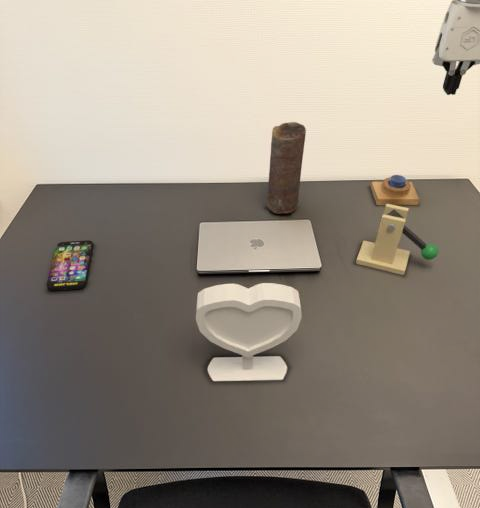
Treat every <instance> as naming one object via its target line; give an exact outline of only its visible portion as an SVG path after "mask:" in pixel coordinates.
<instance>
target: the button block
mask: <svg viewBox="0 0 480 508" xmlns="http://www.w3.org/2000/svg"><path fill="white" fill-rule="evenodd" d="M390 178H391V176H389V177H386V178H384V179H383V181H371V184H370V190H371V193H372V196H373V198H374V201H375V204H376V206H386V204H391V205H396V206H418V205H419V202H420V197H419V195H418V193H417V191H416V189H415V186H414V184H413V182H412V181H409V180H408V179H406V181H405V185H404V187H403V188H394V187H391V186H390V185H389V182H390Z"/></svg>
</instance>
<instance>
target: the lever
mask: <svg viewBox="0 0 480 508" xmlns="http://www.w3.org/2000/svg"><path fill="white" fill-rule="evenodd" d="M387 215H389V216H394V217H399V218H403V217H402V216H401V215H400V214H399V213H398V212H396V211H395V210H394V209H393V210H392V211H391V212H390V213H389V214H387ZM403 219H404V218H403ZM402 235H404V236H405V237H406V238H408V240H410V241H411V242H412V243H413V244H415V245H416V246H417V247H418V248H419V249H420V255H421V257H422V258H423V259H425V260H428V261H431V260H434V259H435V258H437V256H438V254H439V249H438V246H437V245H435V244H434V243H426V242H424V240H422V238H421V237H419V236H418V235H417V234H415V233H414V232H413V231H412V230H411V229H410V228H408V226H406V225H405V224H404V228H403V231H402Z"/></svg>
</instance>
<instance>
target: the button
mask: <svg viewBox="0 0 480 508" xmlns="http://www.w3.org/2000/svg"><path fill="white" fill-rule="evenodd" d="M390 177H391V178H390V182H389V185H390V186H391V187H394V188H403V187H404V185H405V181H406V180H407V179H406V177H405V176H403V175H401V174H393V175H391V176H390Z"/></svg>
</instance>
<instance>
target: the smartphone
mask: <svg viewBox="0 0 480 508" xmlns="http://www.w3.org/2000/svg"><path fill="white" fill-rule="evenodd" d="M93 249H94V243H93V241H92V240H71V241H61V242H59V243H57V245H56V248H55V251H54V255H53V257H52V258H53V259H52V262H51V266H50V269H49V274H48V277H47V281H46V288H47V290H48V291H51V292H57V291H70V290H82V289H84V288H85V287H86V286H87V282H88V278H89V272H90V271H89V270H90V267H91V266H90V265H91V260H92V254H93Z"/></svg>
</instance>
